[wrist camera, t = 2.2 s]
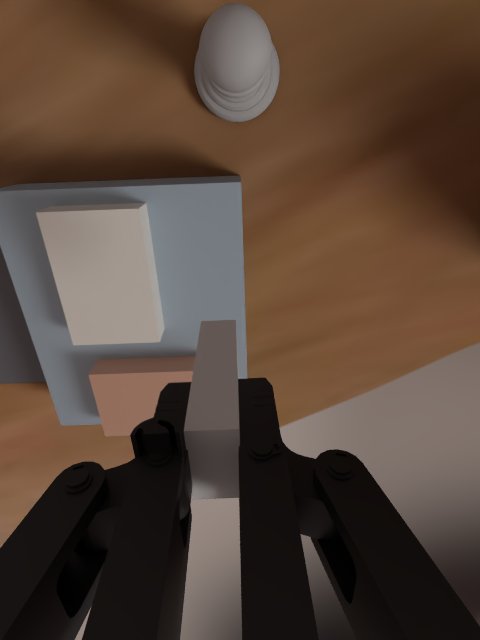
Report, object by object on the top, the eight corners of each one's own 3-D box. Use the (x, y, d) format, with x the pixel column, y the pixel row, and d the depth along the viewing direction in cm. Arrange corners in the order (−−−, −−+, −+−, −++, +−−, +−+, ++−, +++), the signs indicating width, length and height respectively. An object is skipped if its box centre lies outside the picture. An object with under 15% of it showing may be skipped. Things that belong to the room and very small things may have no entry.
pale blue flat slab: (240, 175, 26) (241, 182, 23) (247, 389, 35) (248, 418, 31) (16, 183, 26) (-18, 192, 23) (78, 395, 35) (61, 425, 31)
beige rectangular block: (146, 202, 23) (138, 208, 21) (164, 328, 27) (159, 342, 25) (51, 206, 23) (35, 212, 21) (83, 331, 27) (73, 345, 25)
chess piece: (178, 81, 24) (149, 55, 16) (230, -1, 22) (228, -79, 14) (242, 140, 25) (245, 144, 17) (296, 68, 23) (328, 34, 15)
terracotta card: (214, 355, 28) (212, 370, 27) (218, 415, 31) (217, 432, 29) (97, 359, 28) (88, 374, 27) (112, 419, 31) (105, 436, 29)
